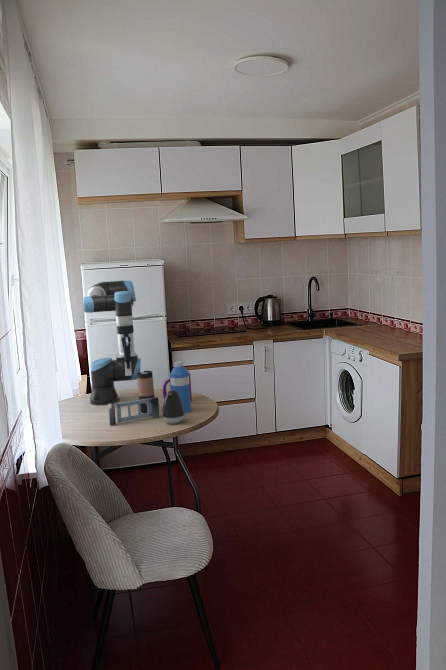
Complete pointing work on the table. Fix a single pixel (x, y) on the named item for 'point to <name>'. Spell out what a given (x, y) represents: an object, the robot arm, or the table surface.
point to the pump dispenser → (173, 408)
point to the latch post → (155, 407)
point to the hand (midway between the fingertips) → (128, 375)
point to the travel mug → (145, 388)
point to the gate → (119, 405)
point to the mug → (169, 381)
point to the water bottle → (181, 384)
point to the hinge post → (112, 414)
